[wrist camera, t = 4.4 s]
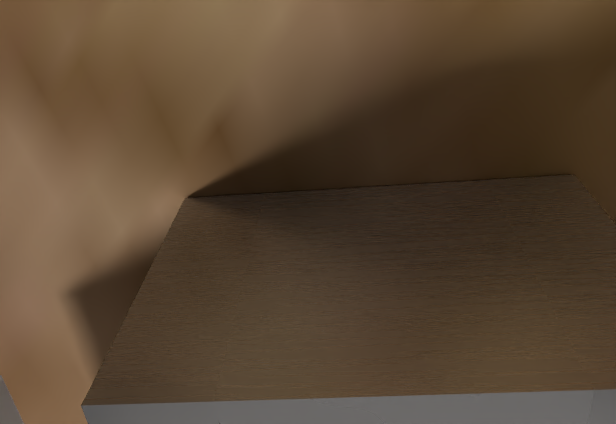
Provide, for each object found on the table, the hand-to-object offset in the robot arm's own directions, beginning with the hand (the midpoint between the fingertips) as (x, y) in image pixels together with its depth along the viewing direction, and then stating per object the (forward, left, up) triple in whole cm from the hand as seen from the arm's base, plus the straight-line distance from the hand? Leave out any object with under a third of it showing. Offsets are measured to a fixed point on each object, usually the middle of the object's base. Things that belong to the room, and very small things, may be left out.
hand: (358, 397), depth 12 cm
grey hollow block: (-1, +1, -1) cm, 1 cm away
